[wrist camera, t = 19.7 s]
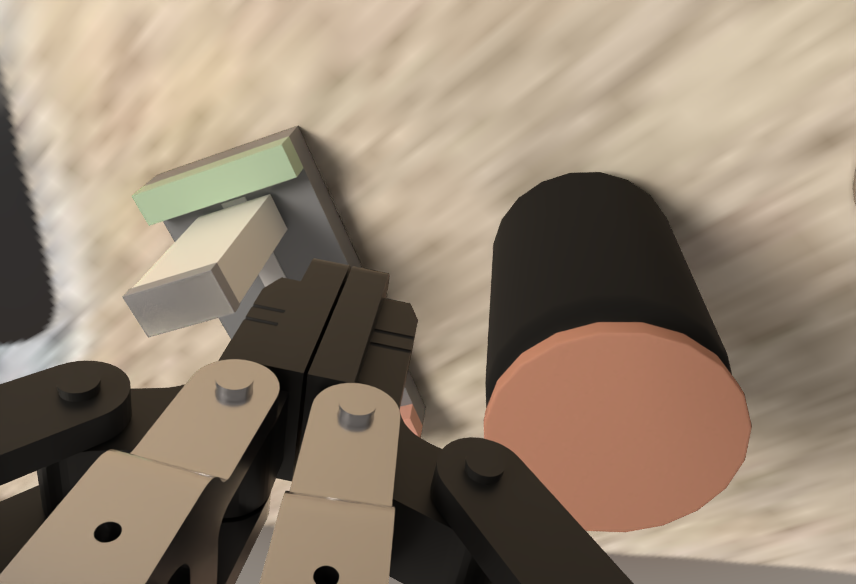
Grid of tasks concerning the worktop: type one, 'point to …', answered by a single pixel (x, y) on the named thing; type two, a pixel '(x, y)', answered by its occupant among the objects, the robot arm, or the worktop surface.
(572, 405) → the coffee jar
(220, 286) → the handle
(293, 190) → the plate
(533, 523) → the robot arm
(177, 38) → the worktop surface
